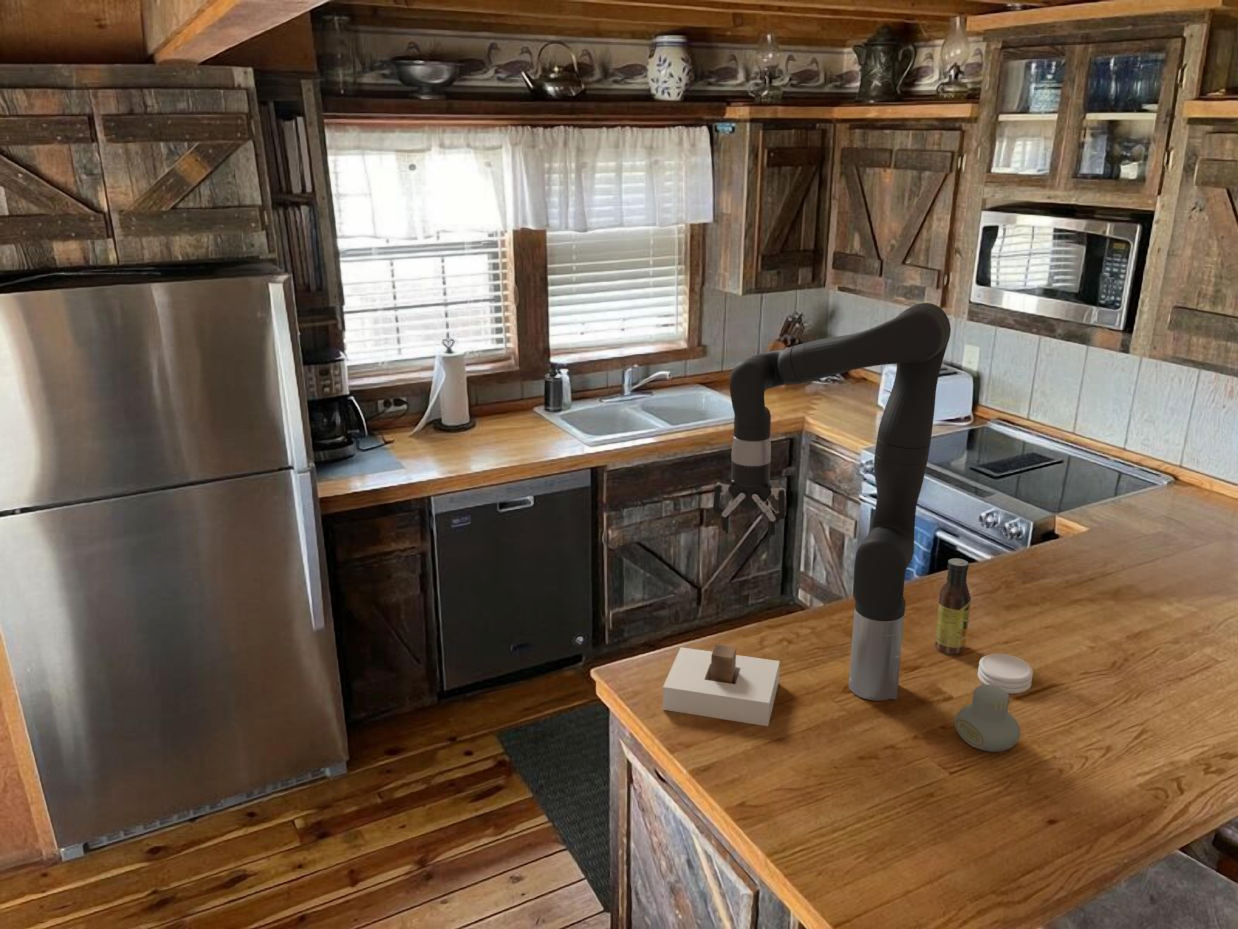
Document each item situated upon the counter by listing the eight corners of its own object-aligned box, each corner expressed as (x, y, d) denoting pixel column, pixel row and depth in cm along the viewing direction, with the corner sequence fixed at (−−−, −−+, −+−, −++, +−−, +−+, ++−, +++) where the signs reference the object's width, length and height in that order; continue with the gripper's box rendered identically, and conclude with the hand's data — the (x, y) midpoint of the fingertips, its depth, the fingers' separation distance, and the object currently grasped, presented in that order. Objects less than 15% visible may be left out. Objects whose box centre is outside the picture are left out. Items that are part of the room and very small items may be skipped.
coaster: (1035, 697, 180) (1038, 681, 179) (981, 692, 182) (983, 676, 181) (1025, 670, 189) (1027, 655, 188) (973, 665, 191) (975, 650, 190)
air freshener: (945, 730, 170) (951, 682, 167) (980, 719, 173) (987, 672, 170) (990, 764, 161) (997, 715, 157) (1026, 752, 164) (1033, 703, 160)
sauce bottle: (966, 657, 193) (977, 570, 187) (935, 654, 195) (945, 568, 188) (962, 641, 199) (972, 557, 193) (932, 639, 201) (941, 554, 194)
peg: (734, 692, 182) (736, 647, 179) (730, 703, 179) (732, 658, 175) (714, 689, 183) (715, 644, 180) (710, 700, 180) (711, 655, 177)
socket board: (778, 683, 185) (779, 661, 184) (768, 726, 172) (769, 703, 170) (680, 668, 191) (680, 647, 189) (662, 709, 177) (662, 686, 175)
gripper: (789, 454, 183) (786, 530, 188) (718, 449, 187) (716, 524, 192) (786, 467, 176) (782, 545, 181) (711, 461, 180) (710, 538, 185)
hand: (748, 534), depth 187 cm, fingers open, 8 cm apart
